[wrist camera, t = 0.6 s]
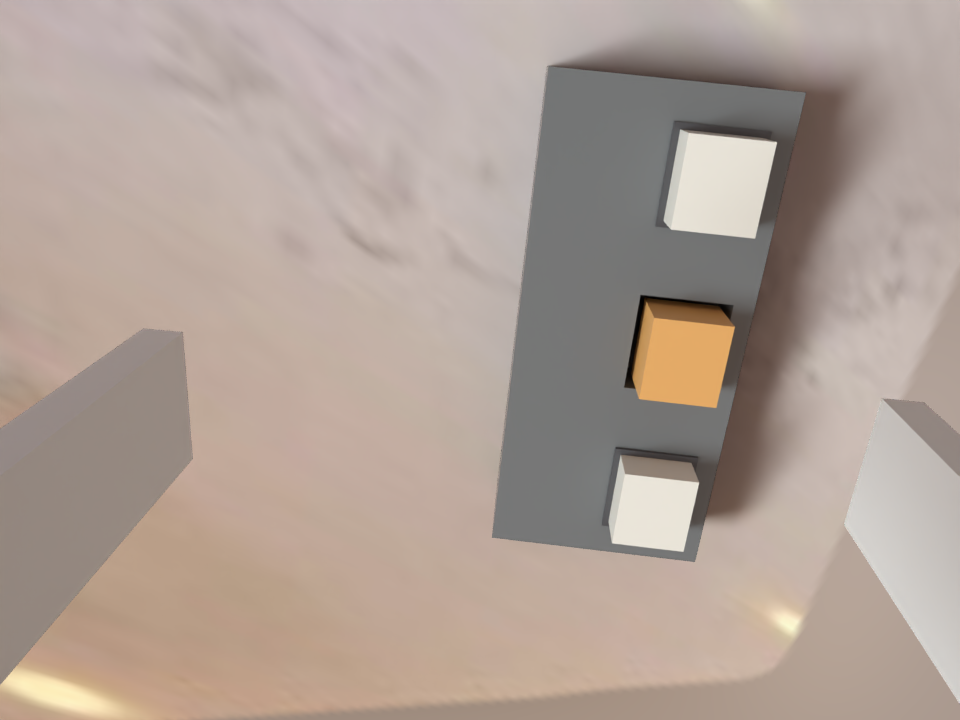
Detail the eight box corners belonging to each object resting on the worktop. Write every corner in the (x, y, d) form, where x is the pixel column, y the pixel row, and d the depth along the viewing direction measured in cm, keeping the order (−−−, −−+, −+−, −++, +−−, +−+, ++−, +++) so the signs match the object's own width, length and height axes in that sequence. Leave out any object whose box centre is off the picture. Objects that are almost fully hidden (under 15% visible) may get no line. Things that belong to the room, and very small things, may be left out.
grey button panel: (547, 66, 37) (549, 65, 31) (778, 89, 36) (824, 93, 30) (495, 498, 45) (489, 561, 39) (681, 520, 45) (703, 587, 39)
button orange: (644, 297, 37) (654, 317, 34) (719, 306, 37) (734, 326, 34) (630, 373, 39) (638, 399, 36) (702, 381, 39) (716, 407, 36)
